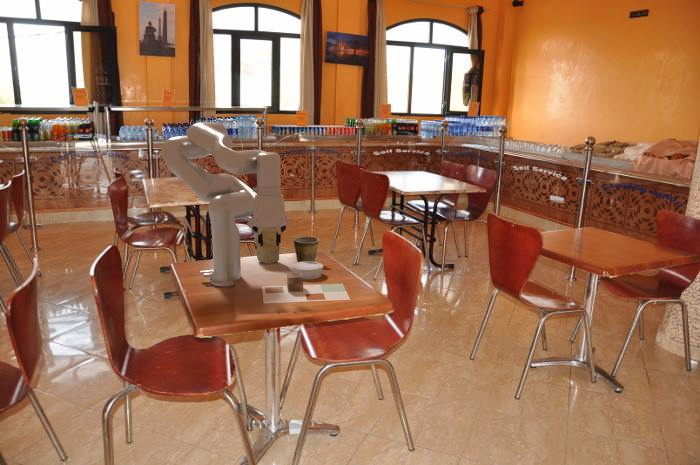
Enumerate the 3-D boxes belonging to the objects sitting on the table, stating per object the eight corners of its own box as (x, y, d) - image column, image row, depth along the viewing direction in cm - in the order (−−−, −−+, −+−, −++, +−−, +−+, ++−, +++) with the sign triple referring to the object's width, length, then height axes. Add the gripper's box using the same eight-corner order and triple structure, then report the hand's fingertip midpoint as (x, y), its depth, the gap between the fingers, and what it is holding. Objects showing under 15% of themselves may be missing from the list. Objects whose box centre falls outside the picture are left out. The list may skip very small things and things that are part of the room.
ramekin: (325, 275, 213) (325, 261, 212) (320, 284, 202) (320, 270, 201) (295, 273, 214) (295, 260, 213) (289, 283, 203) (289, 269, 202)
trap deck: (263, 307, 180) (263, 303, 179) (262, 290, 195) (262, 286, 194) (350, 304, 184) (350, 299, 184) (342, 287, 200) (342, 283, 199)
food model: (280, 260, 230) (280, 212, 225) (278, 265, 224) (278, 215, 219) (256, 259, 230) (255, 211, 225) (253, 264, 224) (252, 214, 219)
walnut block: (288, 291, 190) (288, 277, 188) (287, 287, 194) (287, 273, 193) (303, 291, 191) (303, 277, 189) (301, 286, 195) (301, 272, 194)
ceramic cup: (321, 266, 223) (321, 242, 220) (296, 268, 220) (296, 243, 218) (313, 257, 235) (313, 234, 233) (289, 258, 232) (289, 235, 230)
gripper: (242, 193, 178) (243, 249, 182) (296, 192, 181) (296, 247, 185) (242, 189, 185) (243, 243, 189) (294, 188, 188) (294, 241, 192)
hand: (269, 244), depth 187 cm, fingers open, 4 cm apart
